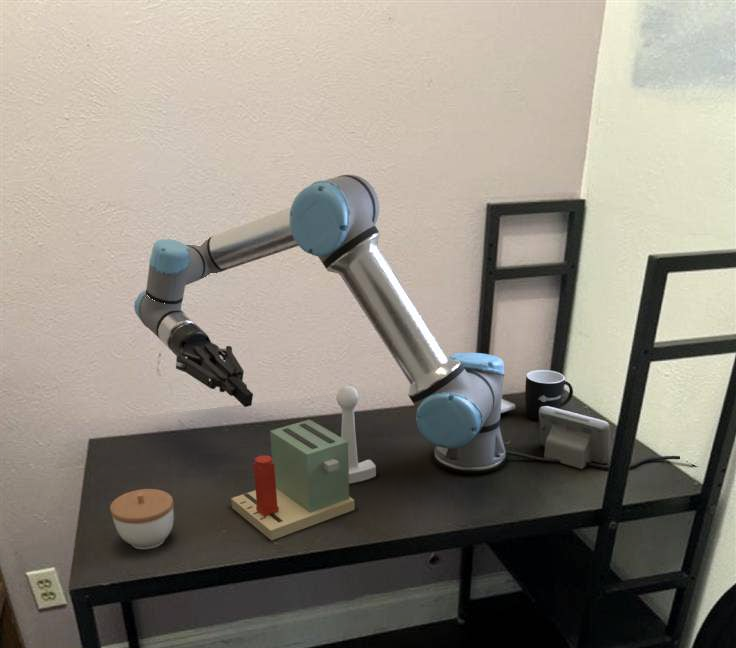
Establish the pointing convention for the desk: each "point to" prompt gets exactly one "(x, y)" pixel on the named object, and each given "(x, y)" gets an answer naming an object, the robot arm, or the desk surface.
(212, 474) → the desk surface
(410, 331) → the robot arm
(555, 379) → the mug
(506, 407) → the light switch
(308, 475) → the toaster
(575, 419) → the digital clock
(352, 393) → the joystick
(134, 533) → the trinket box
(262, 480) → the slider
